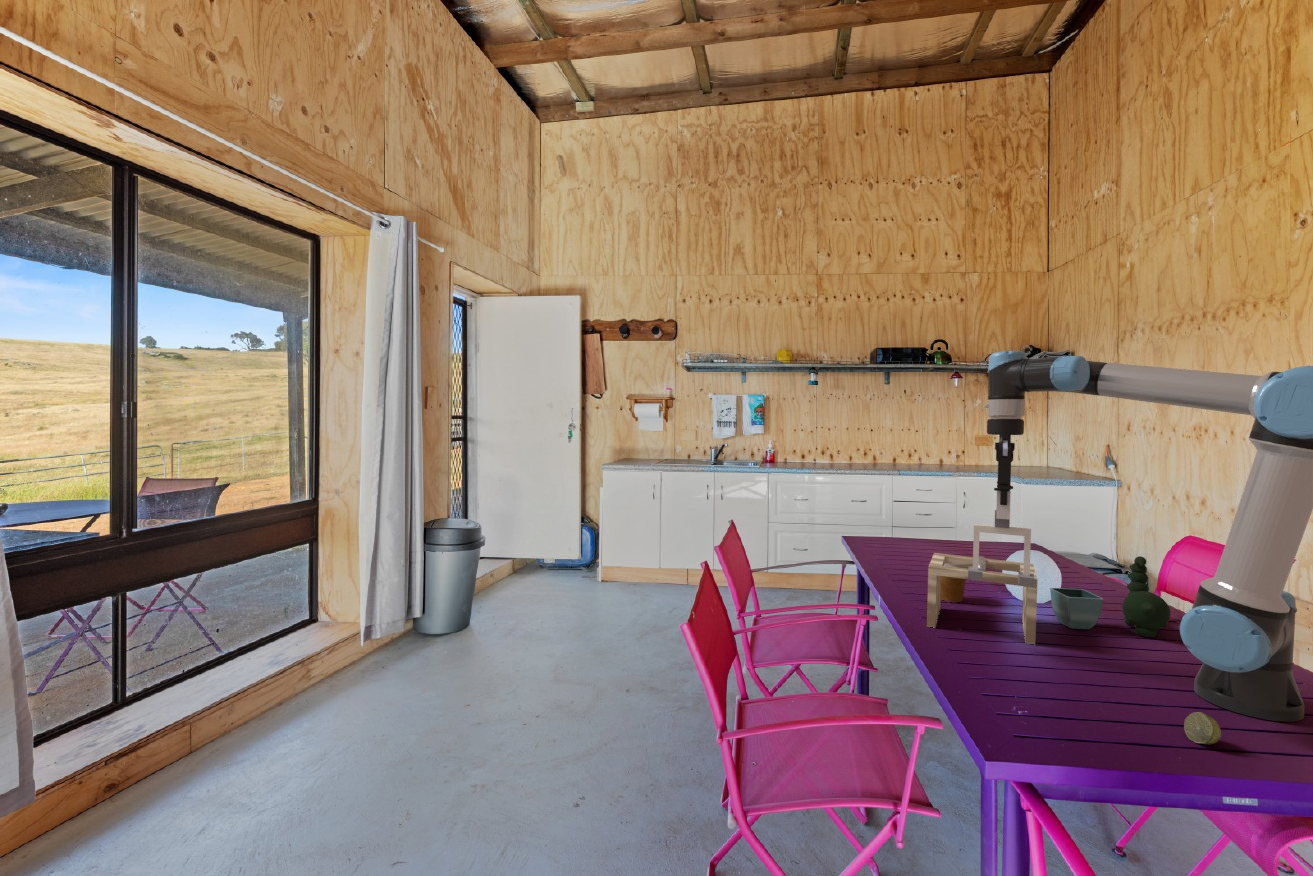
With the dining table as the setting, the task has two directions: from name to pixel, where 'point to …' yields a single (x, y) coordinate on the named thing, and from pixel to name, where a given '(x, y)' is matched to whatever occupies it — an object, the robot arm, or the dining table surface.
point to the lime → (1202, 728)
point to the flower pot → (1076, 607)
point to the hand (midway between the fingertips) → (1002, 517)
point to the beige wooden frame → (938, 570)
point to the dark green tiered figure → (1144, 603)
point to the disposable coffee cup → (952, 586)
